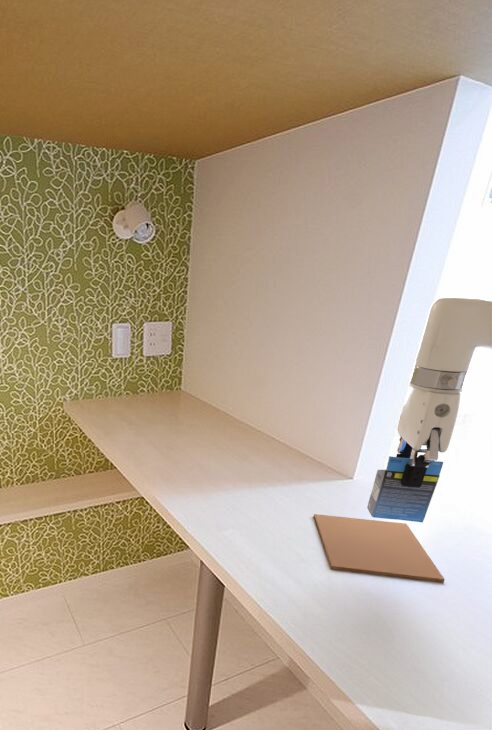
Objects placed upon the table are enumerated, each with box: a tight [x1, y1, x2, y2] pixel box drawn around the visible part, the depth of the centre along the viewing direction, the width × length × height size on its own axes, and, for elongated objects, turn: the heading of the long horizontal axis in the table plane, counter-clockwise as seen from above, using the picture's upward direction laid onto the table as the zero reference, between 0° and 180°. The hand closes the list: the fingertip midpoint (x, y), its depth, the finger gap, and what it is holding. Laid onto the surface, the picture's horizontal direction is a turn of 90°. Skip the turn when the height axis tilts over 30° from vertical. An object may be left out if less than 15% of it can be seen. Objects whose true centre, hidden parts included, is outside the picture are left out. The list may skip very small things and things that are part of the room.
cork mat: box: [313, 513, 446, 583], centre depth 91 cm, size 20×20×1 cm
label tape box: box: [366, 456, 444, 523], centre depth 79 cm, size 9×4×12 cm, turn 78°
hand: (405, 479), depth 78 cm, fingers closed on label tape box, 3 cm apart
